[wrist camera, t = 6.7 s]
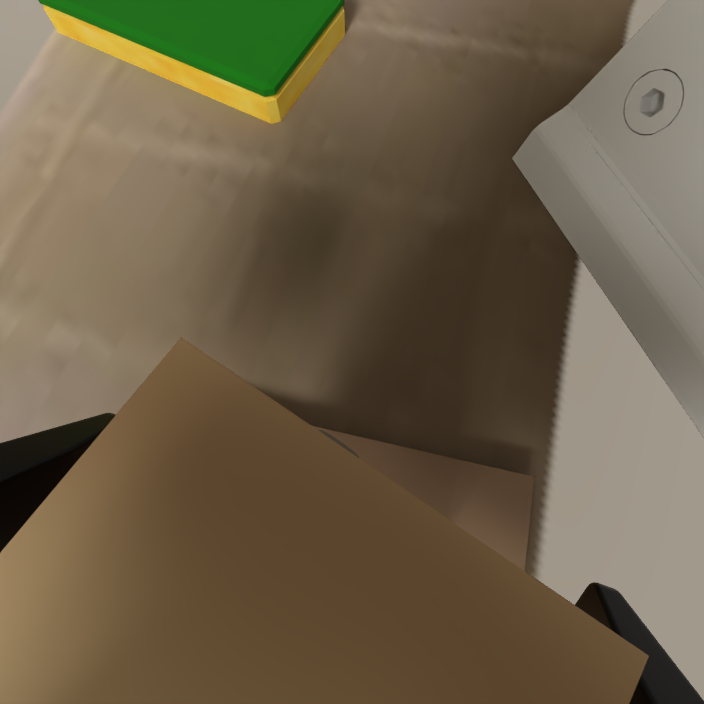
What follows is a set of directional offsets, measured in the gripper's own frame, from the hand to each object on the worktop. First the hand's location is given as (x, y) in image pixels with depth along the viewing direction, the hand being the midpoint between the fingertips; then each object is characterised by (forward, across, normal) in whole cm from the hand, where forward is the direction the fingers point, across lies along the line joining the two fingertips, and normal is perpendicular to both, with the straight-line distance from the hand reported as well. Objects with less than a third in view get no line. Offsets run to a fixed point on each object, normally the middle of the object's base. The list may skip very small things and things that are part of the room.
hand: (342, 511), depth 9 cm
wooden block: (+4, 0, +6) cm, 8 cm away
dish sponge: (+21, +15, -8) cm, 27 cm away
